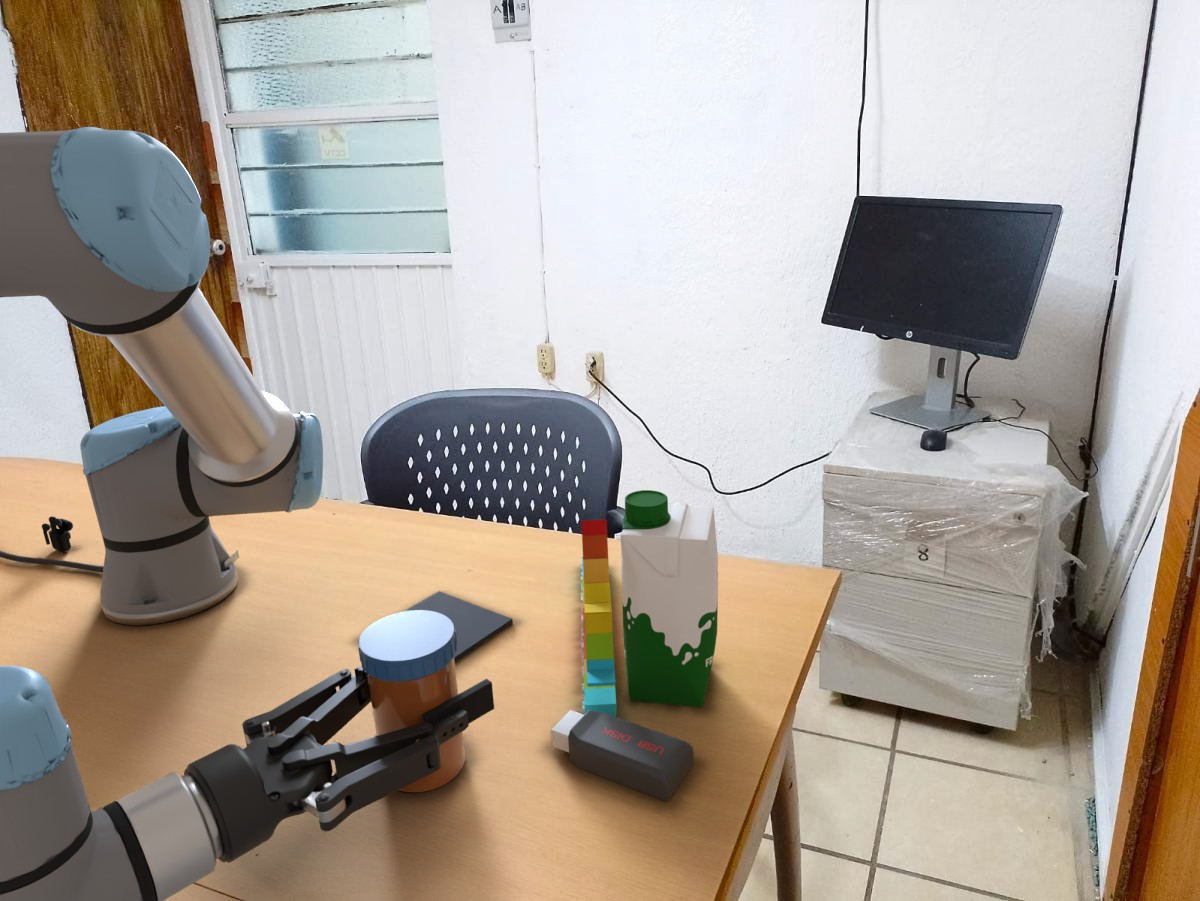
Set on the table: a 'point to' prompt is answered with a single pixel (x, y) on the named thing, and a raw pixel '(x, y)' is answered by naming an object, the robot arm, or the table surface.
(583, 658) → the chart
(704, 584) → the milk carton
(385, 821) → the table surface
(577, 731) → the usb drive
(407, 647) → the lid
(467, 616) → the mat
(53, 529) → the wireless earbuds
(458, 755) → the jar
